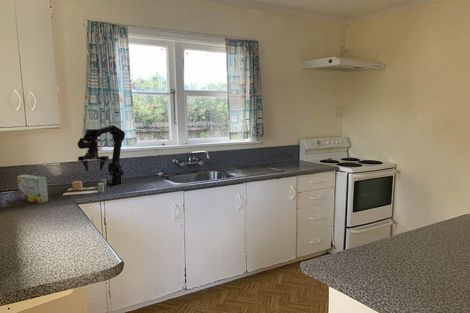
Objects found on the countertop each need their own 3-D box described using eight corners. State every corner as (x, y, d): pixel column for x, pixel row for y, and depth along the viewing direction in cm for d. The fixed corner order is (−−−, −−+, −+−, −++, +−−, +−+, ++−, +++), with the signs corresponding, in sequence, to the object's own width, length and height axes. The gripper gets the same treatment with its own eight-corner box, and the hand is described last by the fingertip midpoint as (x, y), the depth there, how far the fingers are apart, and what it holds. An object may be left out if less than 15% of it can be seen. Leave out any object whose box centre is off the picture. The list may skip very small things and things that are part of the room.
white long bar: (104, 191, 220) (103, 182, 219) (103, 193, 214) (102, 184, 213) (64, 194, 214) (63, 185, 213) (62, 196, 208) (61, 187, 207)
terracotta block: (82, 187, 228) (81, 180, 227) (81, 189, 223) (80, 182, 222) (74, 188, 226) (73, 181, 226) (72, 190, 222) (72, 182, 221)
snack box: (19, 200, 202) (16, 175, 200) (28, 197, 207) (25, 174, 205) (40, 203, 192) (37, 178, 190) (49, 201, 197) (47, 176, 195)
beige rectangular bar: (106, 187, 232) (105, 179, 232) (105, 188, 227) (104, 180, 226) (69, 189, 226) (68, 181, 225) (67, 191, 220) (66, 183, 220)
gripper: (73, 148, 214) (74, 172, 215) (102, 148, 214) (102, 172, 215) (81, 147, 225) (82, 170, 226) (108, 147, 225) (109, 170, 226)
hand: (94, 171), depth 223 cm, fingers open, 9 cm apart
